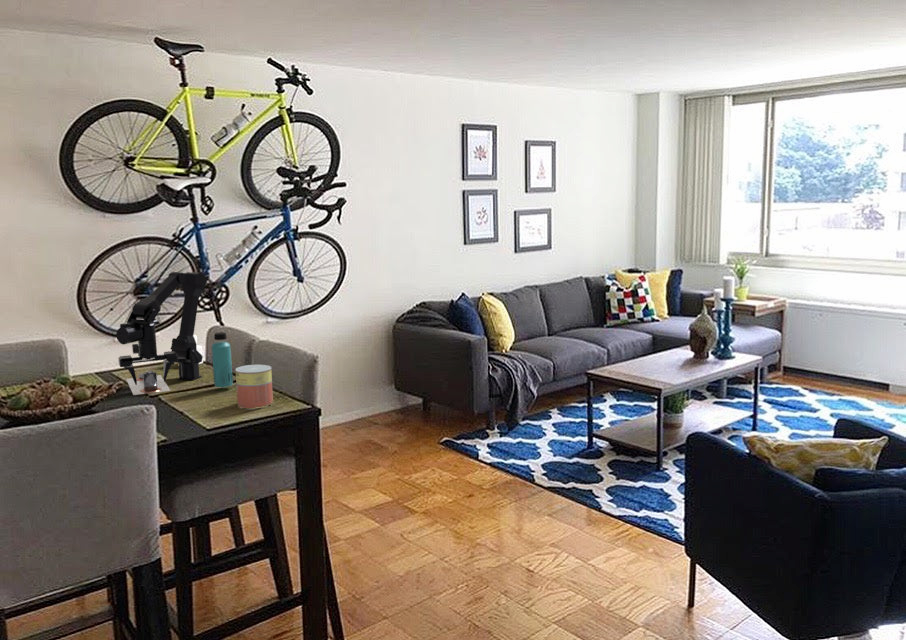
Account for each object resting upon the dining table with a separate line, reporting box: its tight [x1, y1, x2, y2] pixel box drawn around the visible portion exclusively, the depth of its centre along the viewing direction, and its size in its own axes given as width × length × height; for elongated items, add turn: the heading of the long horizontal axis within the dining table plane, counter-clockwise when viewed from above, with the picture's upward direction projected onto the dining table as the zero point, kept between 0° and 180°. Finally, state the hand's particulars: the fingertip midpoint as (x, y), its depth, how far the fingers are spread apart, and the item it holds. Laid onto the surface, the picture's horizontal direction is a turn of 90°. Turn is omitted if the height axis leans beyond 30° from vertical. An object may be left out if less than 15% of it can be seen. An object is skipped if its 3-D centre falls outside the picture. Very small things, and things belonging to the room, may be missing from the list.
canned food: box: [235, 363, 274, 409], centre depth 246 cm, size 11×11×12 cm
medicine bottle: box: [177, 334, 204, 366], centre depth 304 cm, size 7×7×12 cm
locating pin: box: [142, 370, 158, 392], centre depth 265 cm, size 4×4×7 cm
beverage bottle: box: [211, 332, 234, 388], centre depth 265 cm, size 6×7×20 cm
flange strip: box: [125, 372, 171, 396], centre depth 274 cm, size 26×12×2 cm, turn 28°
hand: (150, 383), depth 265 cm, fingers open, 9 cm apart
